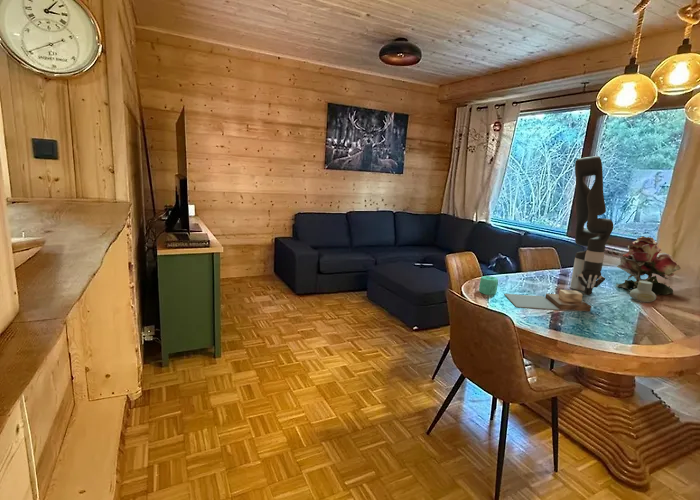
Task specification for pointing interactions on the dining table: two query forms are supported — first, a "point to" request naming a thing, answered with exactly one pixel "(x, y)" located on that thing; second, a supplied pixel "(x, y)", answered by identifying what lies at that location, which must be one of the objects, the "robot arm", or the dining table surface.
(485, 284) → the green cylinder
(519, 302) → the slate mat
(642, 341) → the dining table surface
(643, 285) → the air freshener
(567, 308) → the walnut board
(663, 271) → the rose bouquet
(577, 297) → the beech block
